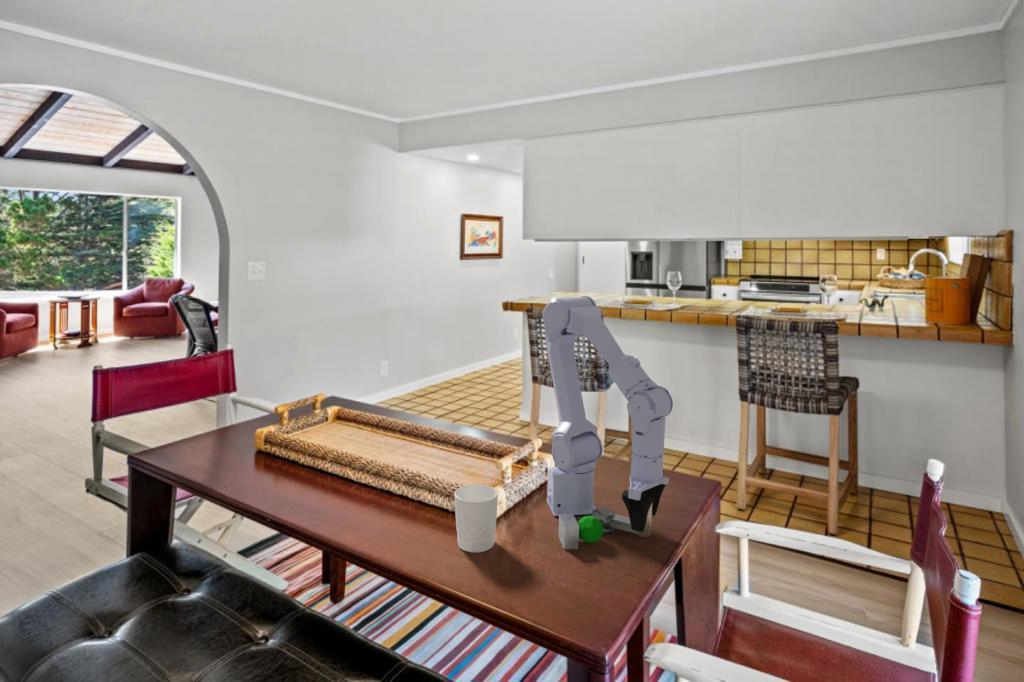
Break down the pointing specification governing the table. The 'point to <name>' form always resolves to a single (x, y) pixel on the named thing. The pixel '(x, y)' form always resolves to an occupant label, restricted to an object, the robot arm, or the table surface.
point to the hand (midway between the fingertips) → (644, 522)
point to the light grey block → (568, 531)
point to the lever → (620, 521)
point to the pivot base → (608, 530)
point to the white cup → (476, 517)
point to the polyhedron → (590, 529)
